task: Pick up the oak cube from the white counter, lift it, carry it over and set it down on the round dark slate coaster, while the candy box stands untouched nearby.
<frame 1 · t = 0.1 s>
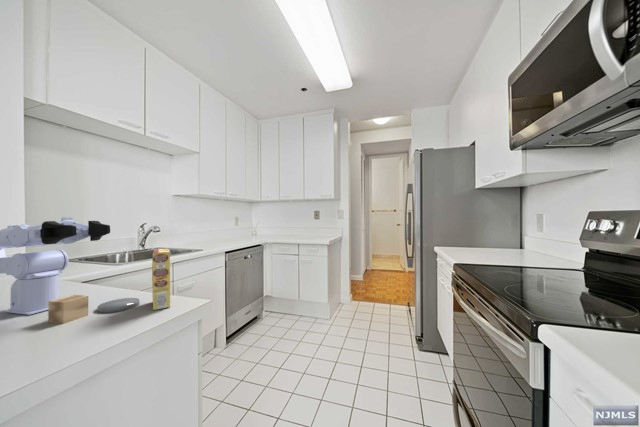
hand: (92, 229, 63), 22 cm above the worktop, tool horizontal, fingers open, 7 cm apart
candy box: (161, 305, 70), on the worktop
slate coaster: (119, 306, 68), on the worktop
oak cube: (68, 318, 60), on the worktop
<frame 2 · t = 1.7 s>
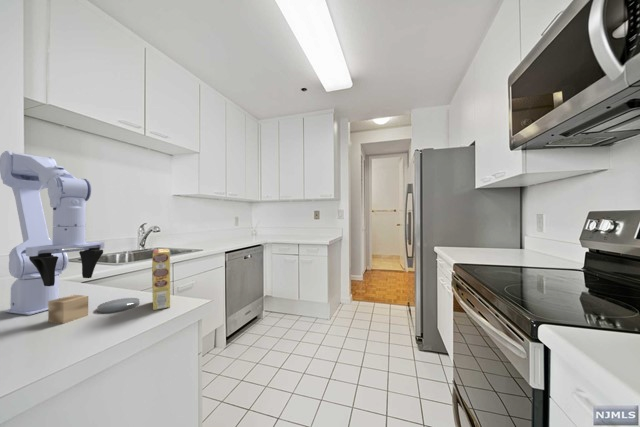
hand: (69, 281, 61), 9 cm above the worktop, tool pointing down, fingers open, 7 cm apart
nothing on the worktop moved.
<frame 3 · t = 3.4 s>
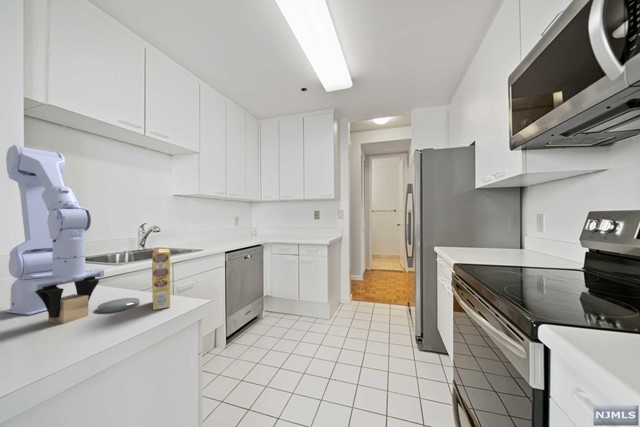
hand: (68, 312, 60), 1 cm above the worktop, tool pointing down, fingers closed on oak cube, 5 cm apart
oak cube: (68, 318, 60), on the worktop, touching gripper
everything else where it was.
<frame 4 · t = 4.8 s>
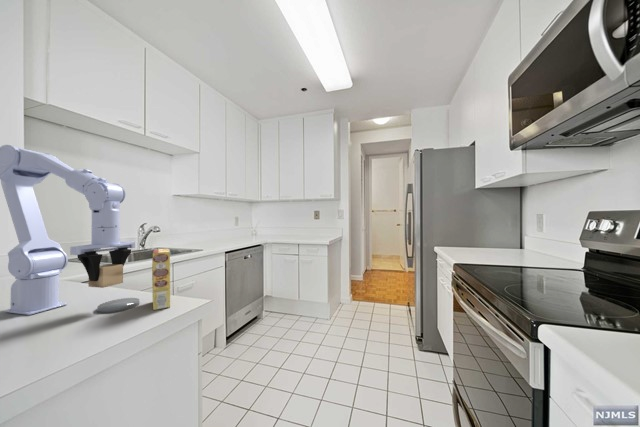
hand: (105, 278, 66), 8 cm above the worktop, tool pointing down, fingers closed on oak cube, 5 cm apart
oak cube: (106, 284, 66), point 7 cm above the worktop, touching gripper
everything else where it was.
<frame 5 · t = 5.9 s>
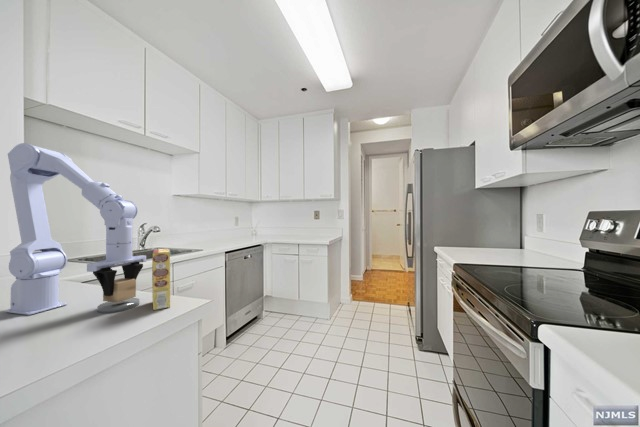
hand: (119, 292, 68), 4 cm above the worktop, tool pointing down, fingers closed on oak cube, 5 cm apart
oak cube: (119, 298, 68), point 2 cm above the worktop, touching gripper
everything else where it was.
when the fingers open (4 cm above the worktop, at t = 6.8 s): oak cube drops 1 cm, resting on slate coaster.
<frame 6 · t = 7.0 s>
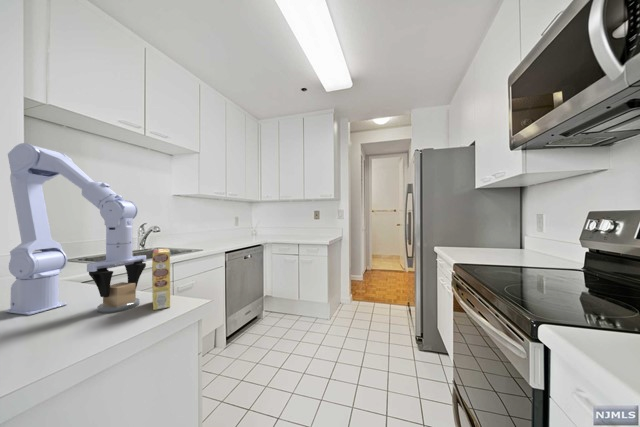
hand: (119, 292, 68), 4 cm above the worktop, tool pointing down, fingers open, 7 cm apart
oak cube: (119, 303, 68), point 1 cm above the worktop, touching slate coaster
everything else where it was.
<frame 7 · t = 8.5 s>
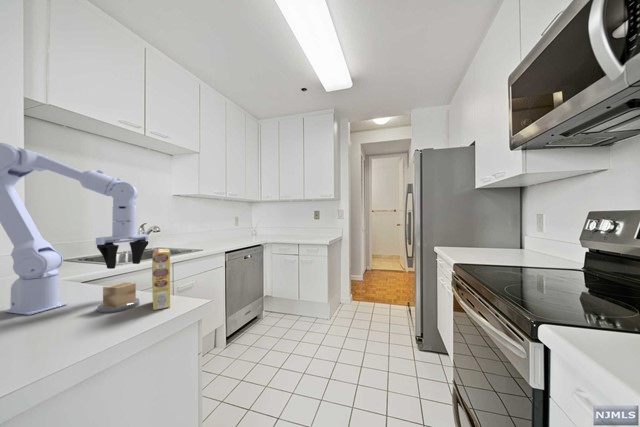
hand: (124, 265, 76), 10 cm above the worktop, tool pointing down, fingers open, 7 cm apart
nothing on the worktop moved.
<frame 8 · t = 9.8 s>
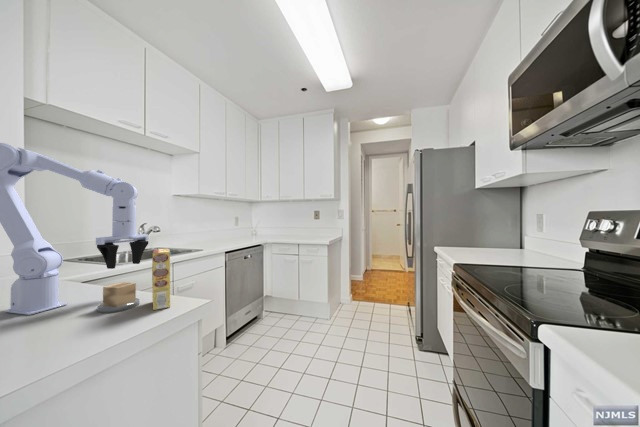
hand: (124, 265, 76), 10 cm above the worktop, tool pointing down, fingers open, 7 cm apart
nothing on the worktop moved.
at the end: oak cube inside the target area on the slate coaster (0.2 cm from its centre), point 1.0 cm above the slate coaster's base; oak cube tilted 0°; the gripper is holding nothing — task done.
